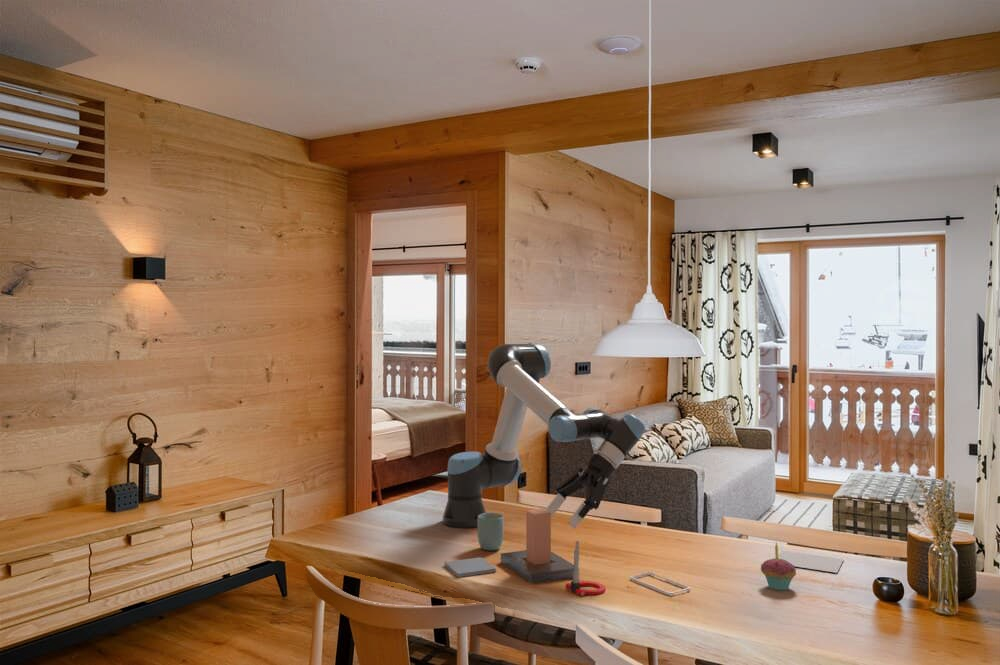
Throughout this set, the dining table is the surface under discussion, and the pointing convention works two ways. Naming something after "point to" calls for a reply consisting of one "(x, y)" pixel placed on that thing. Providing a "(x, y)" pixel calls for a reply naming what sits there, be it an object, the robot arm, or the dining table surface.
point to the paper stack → (811, 561)
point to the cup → (490, 530)
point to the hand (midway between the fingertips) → (559, 519)
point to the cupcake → (778, 572)
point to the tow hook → (576, 584)
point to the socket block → (538, 567)
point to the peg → (538, 536)
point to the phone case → (657, 587)
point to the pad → (469, 567)
